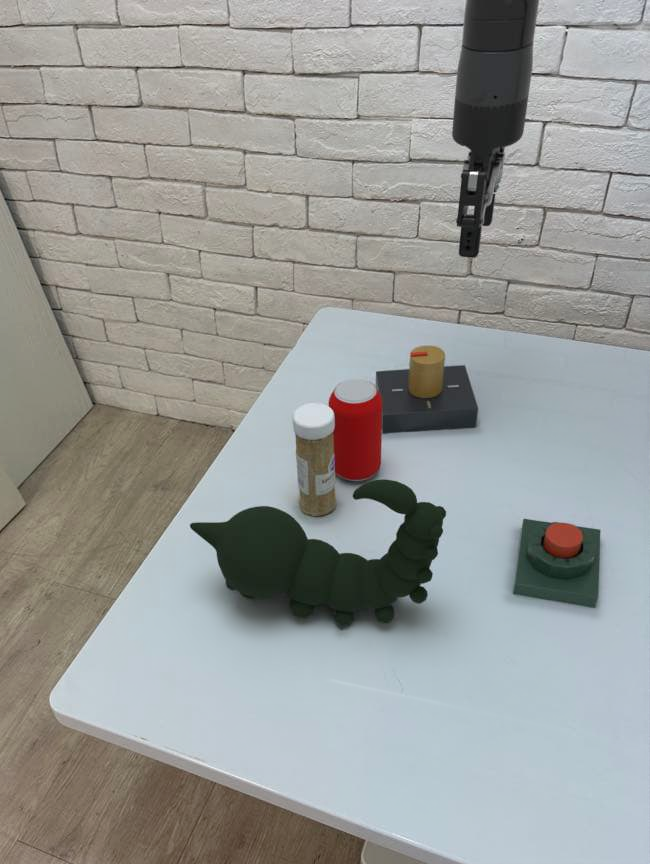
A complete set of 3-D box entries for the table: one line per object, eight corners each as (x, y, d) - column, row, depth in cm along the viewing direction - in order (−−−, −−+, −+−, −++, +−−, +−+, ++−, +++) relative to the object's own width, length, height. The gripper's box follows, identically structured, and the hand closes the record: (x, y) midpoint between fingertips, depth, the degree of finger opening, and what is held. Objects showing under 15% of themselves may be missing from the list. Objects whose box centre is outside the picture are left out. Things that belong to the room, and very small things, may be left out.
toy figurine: (425, 593, 87) (207, 547, 92) (457, 460, 73) (199, 415, 78) (413, 662, 81) (180, 609, 86) (445, 531, 67) (165, 477, 72)
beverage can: (379, 486, 97) (381, 405, 89) (328, 485, 99) (325, 405, 90) (381, 454, 102) (383, 374, 93) (332, 453, 103) (330, 374, 94)
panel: (462, 383, 111) (465, 363, 108) (475, 427, 104) (478, 407, 101) (375, 389, 112) (375, 370, 109) (382, 433, 105) (383, 413, 102)
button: (544, 531, 85) (547, 519, 84) (580, 537, 84) (583, 525, 83) (542, 555, 83) (544, 543, 82) (579, 561, 82) (582, 549, 80)
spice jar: (336, 517, 94) (334, 425, 85) (297, 517, 95) (291, 426, 86) (336, 491, 98) (334, 400, 88) (299, 491, 98) (293, 401, 89)
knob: (439, 378, 107) (442, 342, 103) (444, 397, 104) (448, 360, 100) (406, 380, 107) (408, 344, 103) (410, 399, 104) (412, 363, 100)
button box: (521, 529, 90) (525, 506, 88) (597, 540, 88) (604, 517, 85) (512, 594, 84) (517, 572, 81) (594, 608, 81) (602, 585, 79)
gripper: (518, 115, 79) (497, 270, 90) (538, 70, 88) (517, 216, 99) (441, 113, 81) (430, 264, 93) (469, 69, 90) (456, 212, 102)
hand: (475, 239), depth 96 cm, fingers open, 8 cm apart
